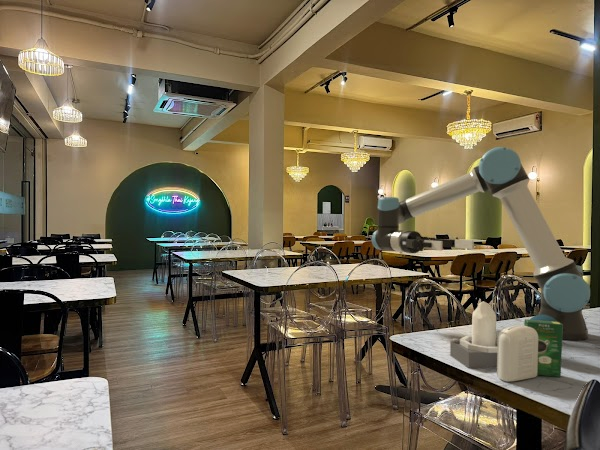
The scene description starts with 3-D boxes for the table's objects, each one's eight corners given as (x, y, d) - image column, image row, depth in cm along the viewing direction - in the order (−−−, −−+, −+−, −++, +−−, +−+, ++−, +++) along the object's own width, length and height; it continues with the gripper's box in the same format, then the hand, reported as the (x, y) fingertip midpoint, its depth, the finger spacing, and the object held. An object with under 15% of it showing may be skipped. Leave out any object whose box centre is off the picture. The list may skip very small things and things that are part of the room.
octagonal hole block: (496, 353, 119) (496, 334, 119) (522, 367, 108) (522, 347, 108) (449, 354, 118) (449, 336, 118) (470, 369, 106) (470, 348, 106)
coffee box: (558, 373, 104) (559, 320, 103) (562, 378, 101) (563, 323, 100) (521, 370, 105) (522, 318, 105) (525, 374, 103) (526, 321, 102)
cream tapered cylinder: (492, 299, 115) (500, 303, 109) (491, 343, 115) (499, 349, 110) (469, 298, 116) (476, 302, 110) (468, 342, 116) (475, 348, 110)
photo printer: (524, 371, 105) (525, 321, 104) (540, 377, 101) (541, 326, 100) (493, 377, 101) (494, 326, 100) (508, 384, 97) (509, 330, 96)
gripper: (433, 251, 151) (484, 256, 132) (378, 253, 139) (427, 259, 120) (433, 230, 151) (485, 232, 132) (378, 231, 138) (427, 233, 120)
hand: (457, 245), depth 126 cm, fingers open, 13 cm apart
